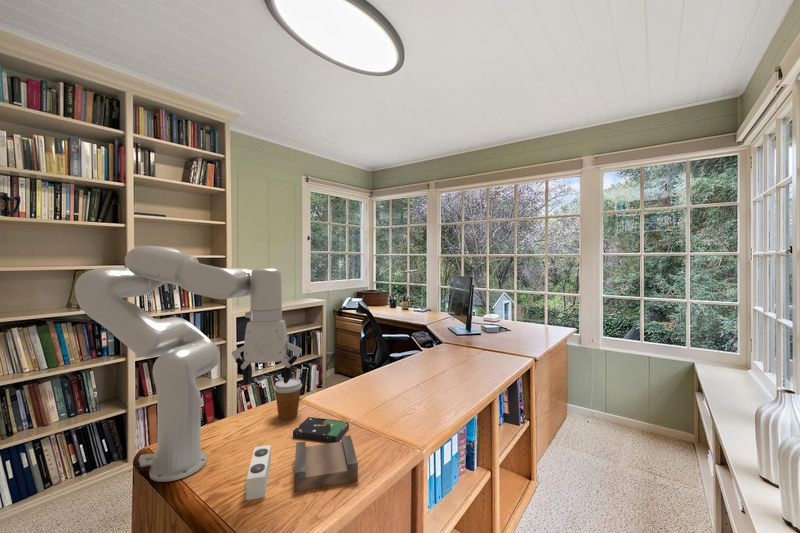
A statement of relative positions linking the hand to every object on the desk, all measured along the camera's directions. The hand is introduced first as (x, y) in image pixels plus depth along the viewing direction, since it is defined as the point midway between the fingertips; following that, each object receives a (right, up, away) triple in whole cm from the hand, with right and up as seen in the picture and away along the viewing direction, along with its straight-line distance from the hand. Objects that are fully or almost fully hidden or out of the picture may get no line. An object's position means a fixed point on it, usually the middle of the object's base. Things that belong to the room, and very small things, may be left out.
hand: (267, 382), depth 86 cm
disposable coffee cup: (-6, -23, +32) cm, 40 cm away
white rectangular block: (-1, -23, -3) cm, 24 cm away
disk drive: (+9, -24, +21) cm, 33 cm away
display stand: (+15, -23, +1) cm, 27 cm away
